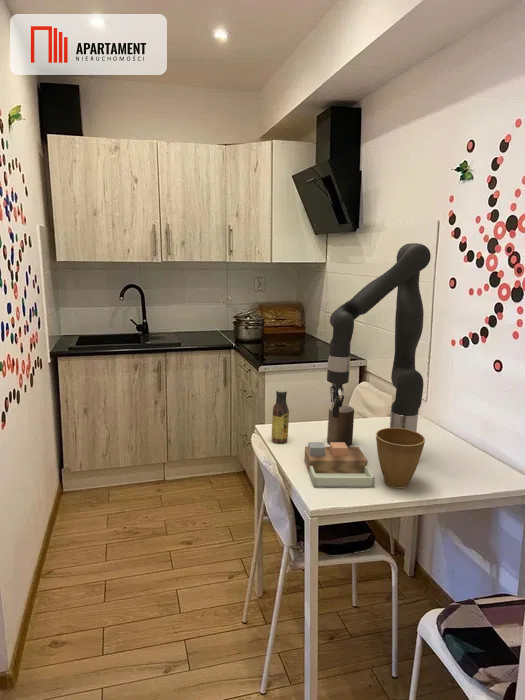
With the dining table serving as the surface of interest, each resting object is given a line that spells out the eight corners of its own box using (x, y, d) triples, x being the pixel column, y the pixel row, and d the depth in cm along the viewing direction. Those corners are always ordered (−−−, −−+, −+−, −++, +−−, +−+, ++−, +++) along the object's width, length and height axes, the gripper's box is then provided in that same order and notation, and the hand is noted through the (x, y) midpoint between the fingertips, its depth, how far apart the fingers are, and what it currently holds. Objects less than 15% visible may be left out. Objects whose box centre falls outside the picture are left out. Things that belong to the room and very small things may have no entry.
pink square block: (344, 450, 176) (344, 442, 176) (347, 456, 171) (347, 447, 171) (329, 450, 176) (330, 442, 175) (332, 456, 171) (332, 447, 170)
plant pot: (368, 472, 171) (372, 426, 168) (413, 474, 171) (417, 428, 168) (377, 493, 157) (381, 443, 154) (426, 495, 156) (431, 445, 153)
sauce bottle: (286, 444, 193) (288, 393, 189) (270, 443, 194) (271, 392, 191) (288, 438, 200) (291, 389, 196) (273, 437, 201) (274, 388, 197)
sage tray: (366, 475, 169) (367, 465, 169) (374, 487, 160) (374, 477, 160) (309, 474, 168) (309, 465, 167) (313, 487, 159) (314, 477, 159)
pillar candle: (354, 447, 193) (356, 409, 190) (327, 446, 193) (330, 408, 190) (350, 438, 202) (352, 401, 199) (325, 437, 202) (327, 400, 200)
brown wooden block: (357, 460, 181) (358, 446, 180) (366, 475, 169) (367, 460, 168) (304, 460, 180) (304, 446, 179) (309, 474, 168) (310, 460, 167)
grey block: (322, 450, 176) (322, 442, 175) (325, 456, 171) (325, 447, 170) (307, 450, 175) (308, 442, 175) (310, 456, 171) (310, 447, 170)
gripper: (353, 373, 170) (350, 423, 173) (345, 364, 183) (341, 411, 186) (331, 372, 169) (328, 422, 173) (324, 363, 182) (321, 410, 186)
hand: (335, 416), depth 179 cm, fingers closed
